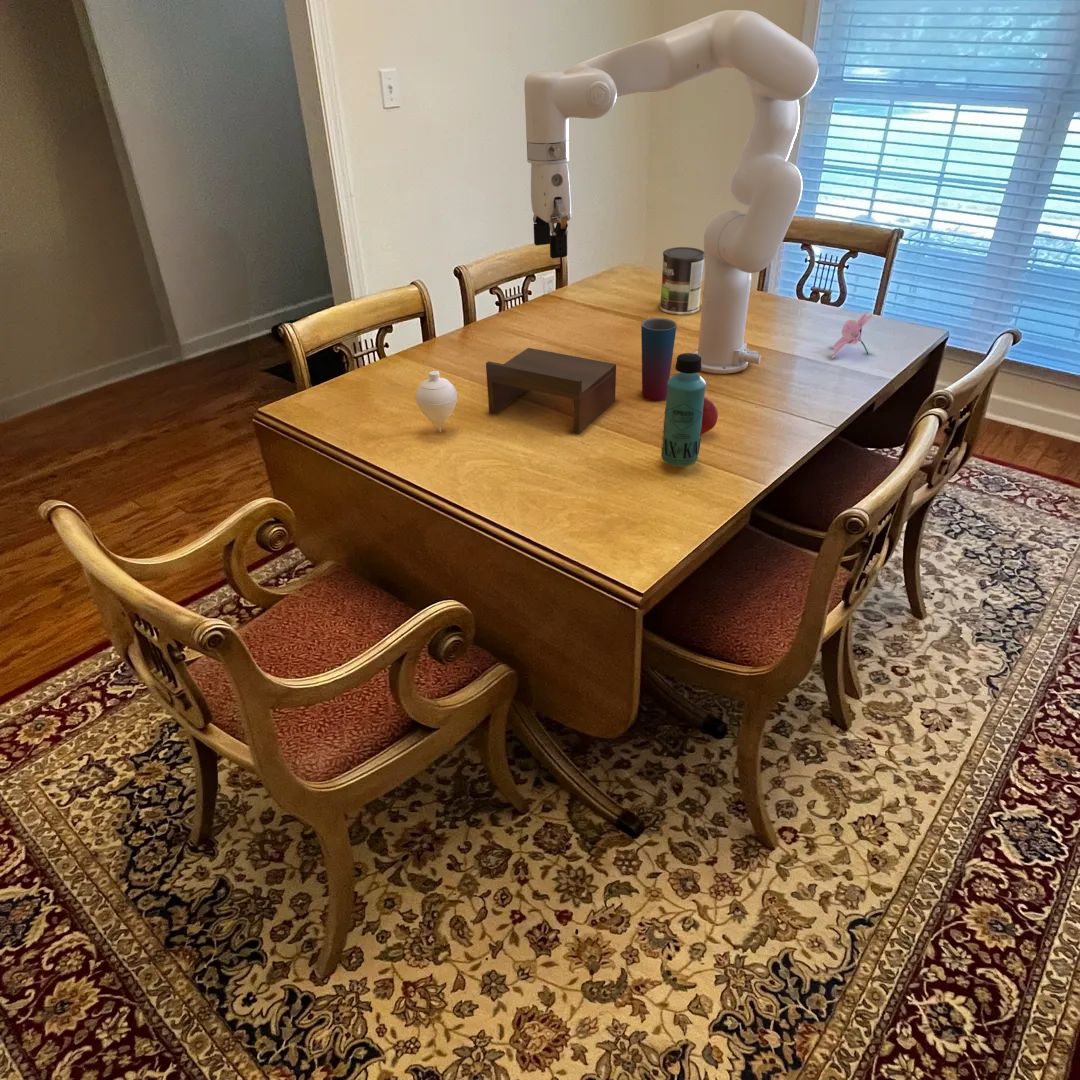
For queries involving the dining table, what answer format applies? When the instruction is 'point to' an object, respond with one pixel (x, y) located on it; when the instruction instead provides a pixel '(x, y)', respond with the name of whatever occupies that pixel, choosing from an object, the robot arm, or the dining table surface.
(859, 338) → the lily
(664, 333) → the cup
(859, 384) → the dining table surface
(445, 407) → the spinning top
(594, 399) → the shelf
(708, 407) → the onion
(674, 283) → the coffee can
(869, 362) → the dining table surface
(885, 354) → the dining table surface
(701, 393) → the beverage bottle
